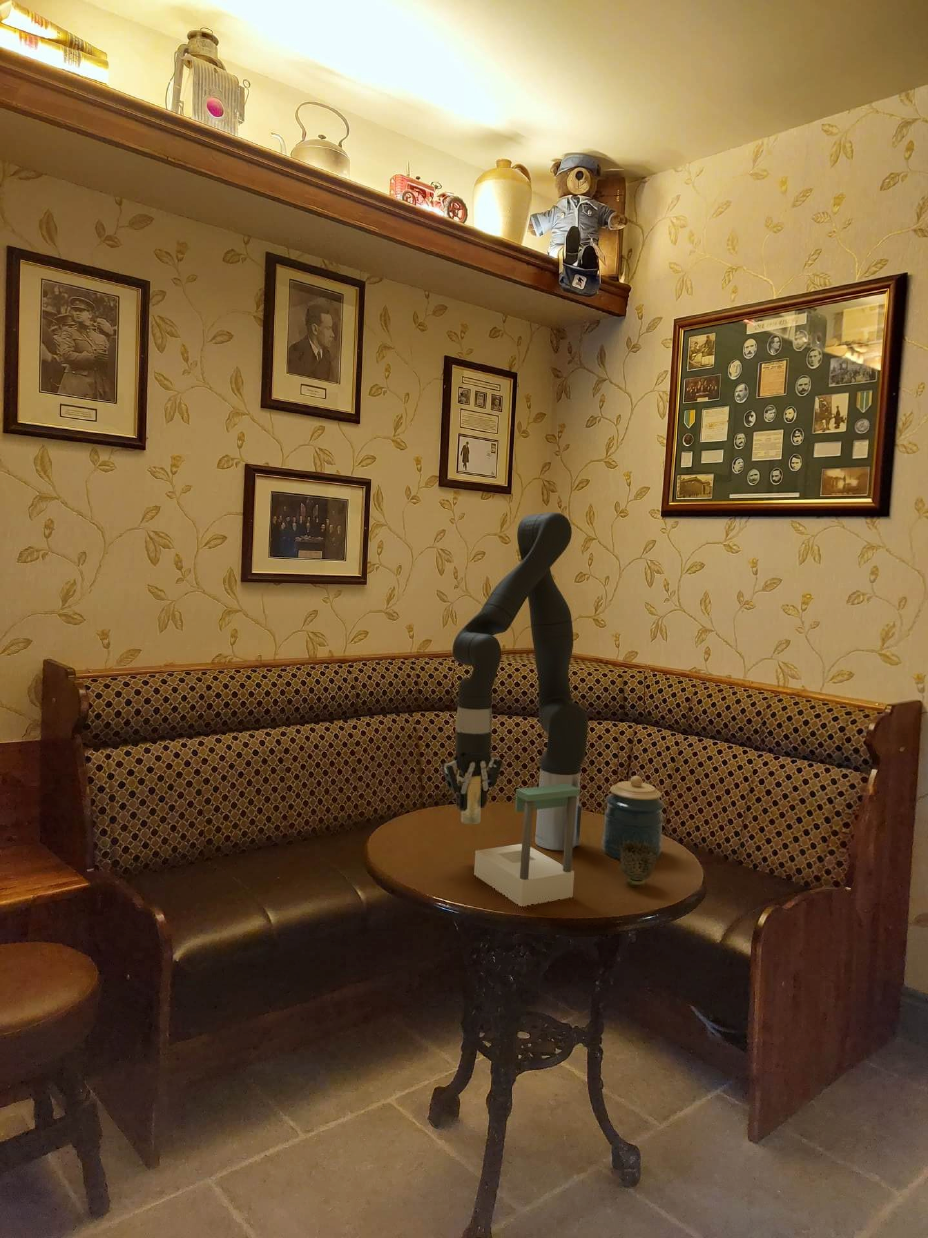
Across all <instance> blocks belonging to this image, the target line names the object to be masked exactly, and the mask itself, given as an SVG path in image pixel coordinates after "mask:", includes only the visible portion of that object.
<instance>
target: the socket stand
mask: <svg viewBox="0 0 928 1238" xmlns="http://www.w3.org/2000/svg"><path fill="white" fill-rule="evenodd" d="M580 795H581V788H580V789H578V788H576V787H574V786H571V785H569V784H561V785H551V786H542V787H539V786H533V787H524V788H516V789H515V798H514V799H515V800H514V801H515V802H514V803H515V804H514V812H515V813H519V812H523V821H522V823H523V824H522V837H521V843H518V844H512V845H511V844H510V845H505V846H504V845H503V846H498V847H490V848H484V849H478V850H477V849H476V850H475V855H474V869H473V870H474V871H473V875H474V876H475V875H476V877H477V878H478V879H479V880H481V881H482V882H484V883H486V884H487V885H489V886H490V887H491V886H492V887H491V888H493V889H494V888H495V889H494V890H495V891H497V892H499V893H500V894H501V893H502V894H501V895H503V896H504V895H505V896H504V897H506V898H507V897H508V898H507V899H509V900H510V901H512V902H513V903H515V904H516V905H517V904H518V905H517V906H519V907H520V906H521V908H523V907H528V906H527V905H529V906H532V905H531V904H534V905H538V903H539V904H543V903H548V901H549V902H553V901H559V900H558V899H560V900H564V899H565V900H566V899H570V898H573V897H574V882H575V880H574V879H575V870H572V865H573V861H572V860H573V849H574V848H573V837H574V822H575V808H576V796H579V797H580ZM562 806H567V816H566V831H565V845H564V850H563V861H562V862H563V863H560V862H558V861H556V860H554V859H553V858H551V857H549V856H548V855H545V854H544V853H542V852H540V851H538V850H537V849H535V848H533V847H532V846H531V842H532V830H533V829H532V828H533V815H534V814H533V812H534V811H537V809H545V808H553V807H562ZM569 897H570V898H569ZM522 906H523V907H522Z"/></svg>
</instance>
